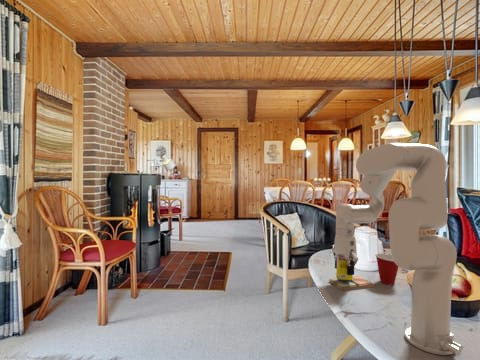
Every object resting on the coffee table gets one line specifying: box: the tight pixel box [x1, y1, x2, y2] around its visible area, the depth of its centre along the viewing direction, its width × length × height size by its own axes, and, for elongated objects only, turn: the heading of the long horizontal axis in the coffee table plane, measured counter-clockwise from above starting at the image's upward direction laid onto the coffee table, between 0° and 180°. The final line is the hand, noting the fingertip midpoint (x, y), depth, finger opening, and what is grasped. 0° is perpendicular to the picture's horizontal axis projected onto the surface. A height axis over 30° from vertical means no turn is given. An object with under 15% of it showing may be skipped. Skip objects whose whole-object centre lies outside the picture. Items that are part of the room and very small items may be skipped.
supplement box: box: [335, 254, 353, 282], centre depth 125 cm, size 6×6×11 cm
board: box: [328, 275, 375, 292], centre depth 126 cm, size 10×16×2 cm, turn 106°
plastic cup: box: [375, 253, 399, 285], centre depth 129 cm, size 11×11×12 cm
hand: (344, 271), depth 125 cm, fingers closed on supplement box, 8 cm apart
